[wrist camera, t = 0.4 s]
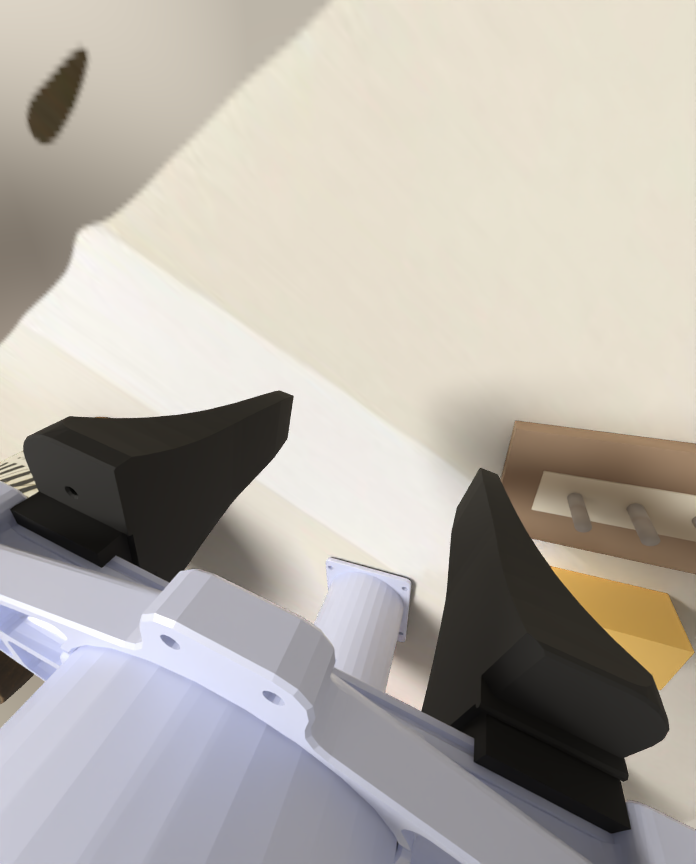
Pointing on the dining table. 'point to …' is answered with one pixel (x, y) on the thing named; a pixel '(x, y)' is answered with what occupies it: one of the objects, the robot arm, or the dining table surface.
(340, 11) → the dining table surface
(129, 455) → the robot arm
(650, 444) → the pin plate
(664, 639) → the block
